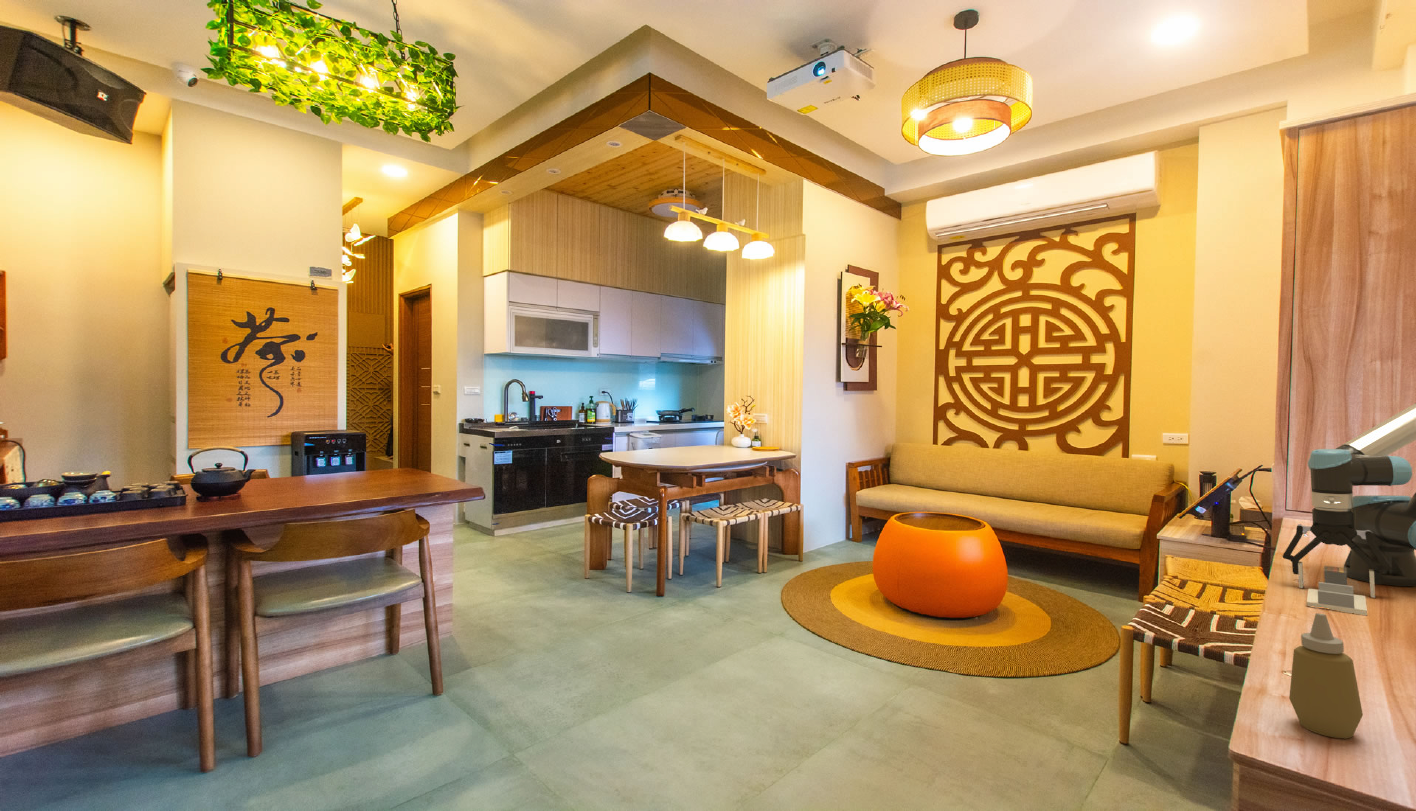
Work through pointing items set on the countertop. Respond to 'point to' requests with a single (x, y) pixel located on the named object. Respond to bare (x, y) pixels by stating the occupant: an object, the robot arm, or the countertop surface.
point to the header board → (1337, 598)
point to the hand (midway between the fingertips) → (1335, 591)
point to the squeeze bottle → (1324, 684)
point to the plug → (1335, 575)
